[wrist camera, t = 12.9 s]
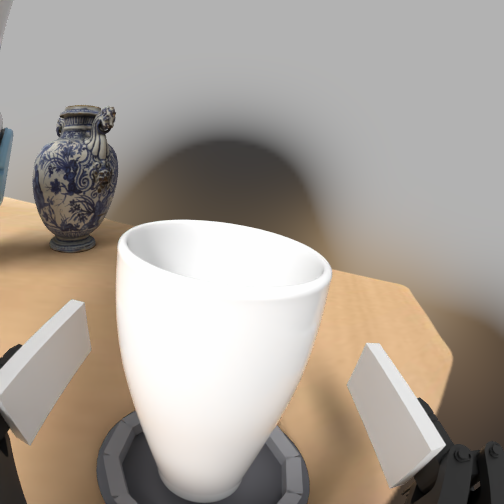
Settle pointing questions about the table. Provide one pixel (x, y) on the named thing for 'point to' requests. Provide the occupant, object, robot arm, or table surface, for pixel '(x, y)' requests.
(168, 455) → the drinking glass
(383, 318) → the table surface
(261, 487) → the coaster
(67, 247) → the decorative vase
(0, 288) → the table surface
